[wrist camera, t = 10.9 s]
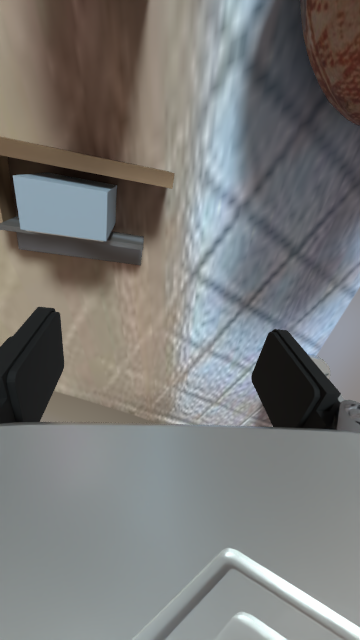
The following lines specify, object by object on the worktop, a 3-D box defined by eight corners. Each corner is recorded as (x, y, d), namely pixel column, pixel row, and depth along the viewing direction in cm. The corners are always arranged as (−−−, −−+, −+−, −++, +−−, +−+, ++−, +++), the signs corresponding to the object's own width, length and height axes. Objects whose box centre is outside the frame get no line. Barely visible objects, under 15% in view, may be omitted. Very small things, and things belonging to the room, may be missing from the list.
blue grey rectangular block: (115, 224, 29) (106, 243, 22) (51, 214, 28) (20, 231, 21) (116, 185, 27) (107, 192, 20) (47, 172, 26) (12, 175, 19)
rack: (156, 266, 32) (158, 285, 27) (11, 246, 29) (-18, 264, 24) (169, 171, 27) (174, 173, 22) (-8, 134, 24) (-49, 127, 19)
